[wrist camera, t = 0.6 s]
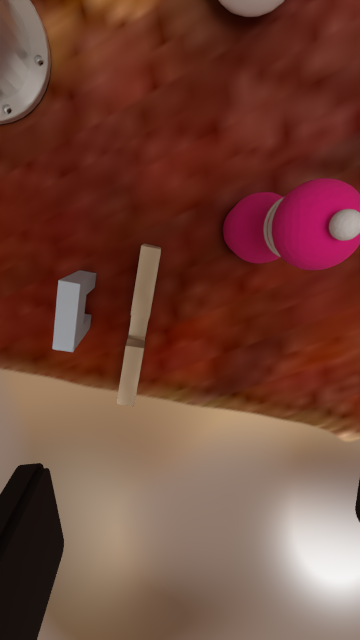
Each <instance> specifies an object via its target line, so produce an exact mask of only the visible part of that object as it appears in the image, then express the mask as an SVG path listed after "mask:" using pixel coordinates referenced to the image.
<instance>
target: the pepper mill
mask: <svg viewBox="0 0 360 640" xmlns="http://www.w3.org/2000/svg"><path fill="white" fill-rule="evenodd" d="M223 235H224V240H225V242H226V244H227V245H228V247H229V248H230V249H231V250H232V251H233V252H234V253H235V254H236V255H237V256H238V257H240V258H241V259H243V260H245V261H247V262H251V263H267V262H271V261H273V260H276V259H278V258H279V257H282V258H283V259H284V260H285V261H286V262H288V263H289V264H291V265H293V266H295V267H297V268H300V269H305V270H321V269H326V268H330V267H332V266H335V265H337V264H339V263H340V262H342V261H344V260H345V259H347V258H348V257H349V256H350V255H351V254H352V253H353V252H354V251H355V250H356V248H357V247H358V246H359V244H360V194H359V193H358V192H357V190H355V189H354V188H353V187H352V186H350V185H348V184H346V183H344V182H342V181H340V180H335V179H328V178H323V179H315V180H310V181H308V182H305V183H303V184H301V185H299V186H297V187H296V188H294V189H293V190H291V191H290V192H289V193H288V194H287V195H286V196H285V197H282V196H280V195H278V194H276V193H271V192H260V193H254V194H251V195H249V196H246V197H245V198H243V199H242V200H241V201H239V202H238V203H237V204H236V205H235V207H234V208H233V209H232V210H231V211H230V212H229V213H228V215H227V217H226V218H225V221H224V225H223Z"/></svg>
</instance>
